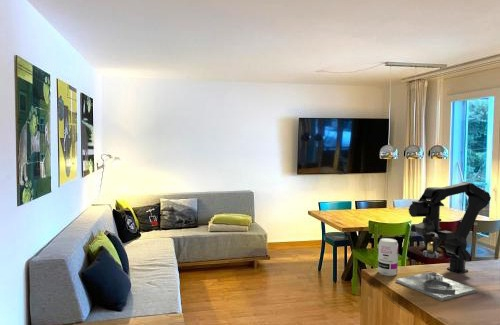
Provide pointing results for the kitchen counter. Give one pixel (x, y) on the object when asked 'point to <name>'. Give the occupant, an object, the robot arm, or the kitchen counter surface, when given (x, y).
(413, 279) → the carrier
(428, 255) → the gear
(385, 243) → the supplement can
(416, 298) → the kitchen counter surface
